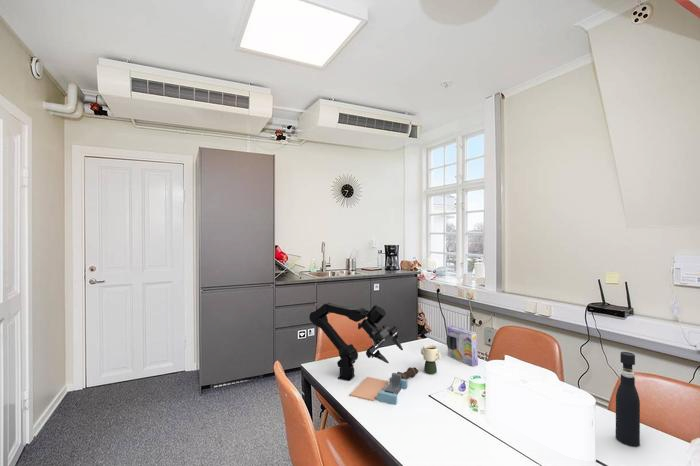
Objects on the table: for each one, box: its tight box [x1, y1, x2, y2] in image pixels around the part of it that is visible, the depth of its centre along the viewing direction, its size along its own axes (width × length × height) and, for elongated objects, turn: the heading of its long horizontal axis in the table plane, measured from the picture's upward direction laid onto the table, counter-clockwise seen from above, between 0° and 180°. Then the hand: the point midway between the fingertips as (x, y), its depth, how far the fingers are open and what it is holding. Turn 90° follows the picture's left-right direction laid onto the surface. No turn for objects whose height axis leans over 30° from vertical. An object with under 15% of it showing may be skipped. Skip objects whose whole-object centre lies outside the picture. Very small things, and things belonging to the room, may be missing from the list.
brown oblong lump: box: [396, 366, 419, 380], centre depth 163 cm, size 6×5×15 cm
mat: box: [349, 376, 390, 402], centre depth 152 cm, size 11×20×1 cm, turn 154°
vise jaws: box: [377, 376, 409, 406], centre depth 147 cm, size 8×18×4 cm, turn 154°
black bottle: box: [615, 351, 641, 448], centre depth 114 cm, size 6×6×30 cm
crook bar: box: [383, 372, 402, 396], centre depth 147 cm, size 4×12×7 cm, turn 155°
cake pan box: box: [445, 324, 479, 367], centre depth 187 cm, size 19×5×18 cm, turn 28°
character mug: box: [420, 344, 441, 374], centre depth 170 cm, size 11×7×13 cm, turn 47°
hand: (395, 356), depth 151 cm, fingers open, 9 cm apart
